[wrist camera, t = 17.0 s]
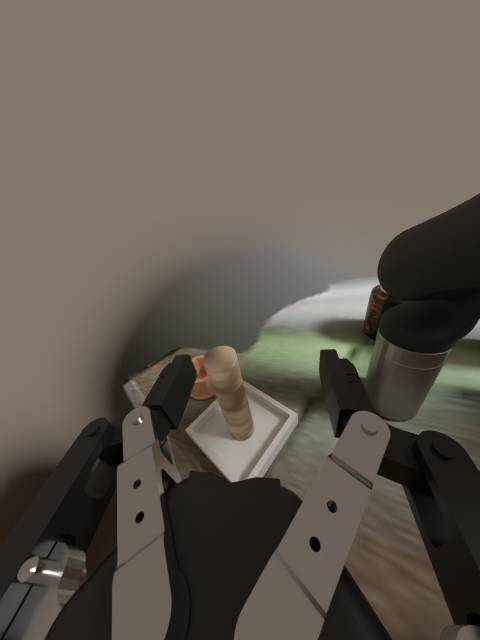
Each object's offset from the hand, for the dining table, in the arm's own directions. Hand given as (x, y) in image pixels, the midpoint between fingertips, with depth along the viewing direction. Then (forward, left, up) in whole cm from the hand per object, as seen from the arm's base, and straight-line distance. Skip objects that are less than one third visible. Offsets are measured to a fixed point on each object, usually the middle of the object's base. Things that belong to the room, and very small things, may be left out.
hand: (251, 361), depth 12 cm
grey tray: (-5, -13, -32) cm, 35 cm away
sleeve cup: (-8, -29, -32) cm, 44 cm away
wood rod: (-5, -13, -31) cm, 34 cm away
